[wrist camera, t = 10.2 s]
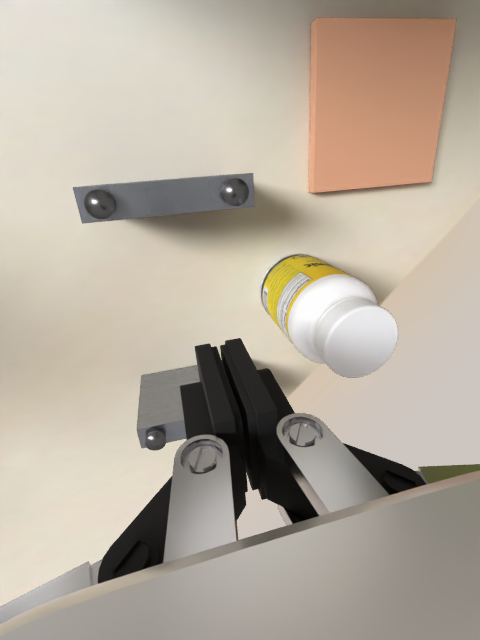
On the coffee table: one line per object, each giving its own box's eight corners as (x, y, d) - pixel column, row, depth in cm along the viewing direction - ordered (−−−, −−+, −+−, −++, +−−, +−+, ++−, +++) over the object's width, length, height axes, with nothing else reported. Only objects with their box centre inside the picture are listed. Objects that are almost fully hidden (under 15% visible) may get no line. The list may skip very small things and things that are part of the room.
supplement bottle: (338, 275, 25) (432, 326, 16) (297, 330, 26) (363, 406, 18) (286, 236, 23) (362, 271, 14) (244, 298, 24) (289, 365, 16)
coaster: (311, 23, 19) (317, 17, 18) (446, 24, 20) (457, 18, 19) (308, 192, 22) (313, 192, 22) (423, 181, 24) (431, 181, 23)
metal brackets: (96, 185, 19) (69, 187, 13) (228, 174, 21) (256, 172, 15) (145, 391, 25) (141, 455, 20) (243, 372, 27) (268, 427, 21)
